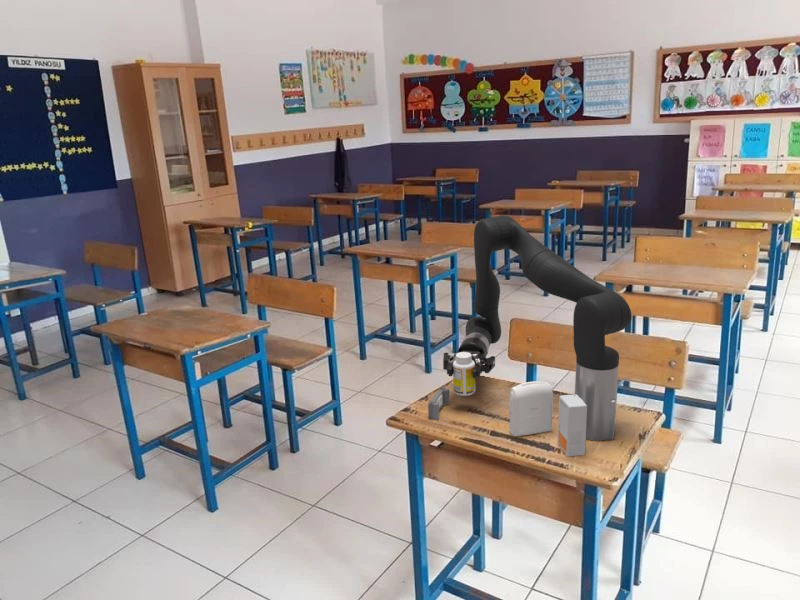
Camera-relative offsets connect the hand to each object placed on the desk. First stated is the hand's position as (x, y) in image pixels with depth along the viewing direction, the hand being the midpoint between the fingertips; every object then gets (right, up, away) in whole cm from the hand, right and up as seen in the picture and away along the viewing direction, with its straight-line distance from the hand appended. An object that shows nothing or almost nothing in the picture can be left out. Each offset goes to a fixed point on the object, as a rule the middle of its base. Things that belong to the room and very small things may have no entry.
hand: (462, 373), depth 156 cm
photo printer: (+15, -13, -8) cm, 21 cm away
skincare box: (+22, -15, -17) cm, 32 cm away
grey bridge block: (-6, -10, +5) cm, 12 cm away
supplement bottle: (+1, -5, +4) cm, 7 cm away
